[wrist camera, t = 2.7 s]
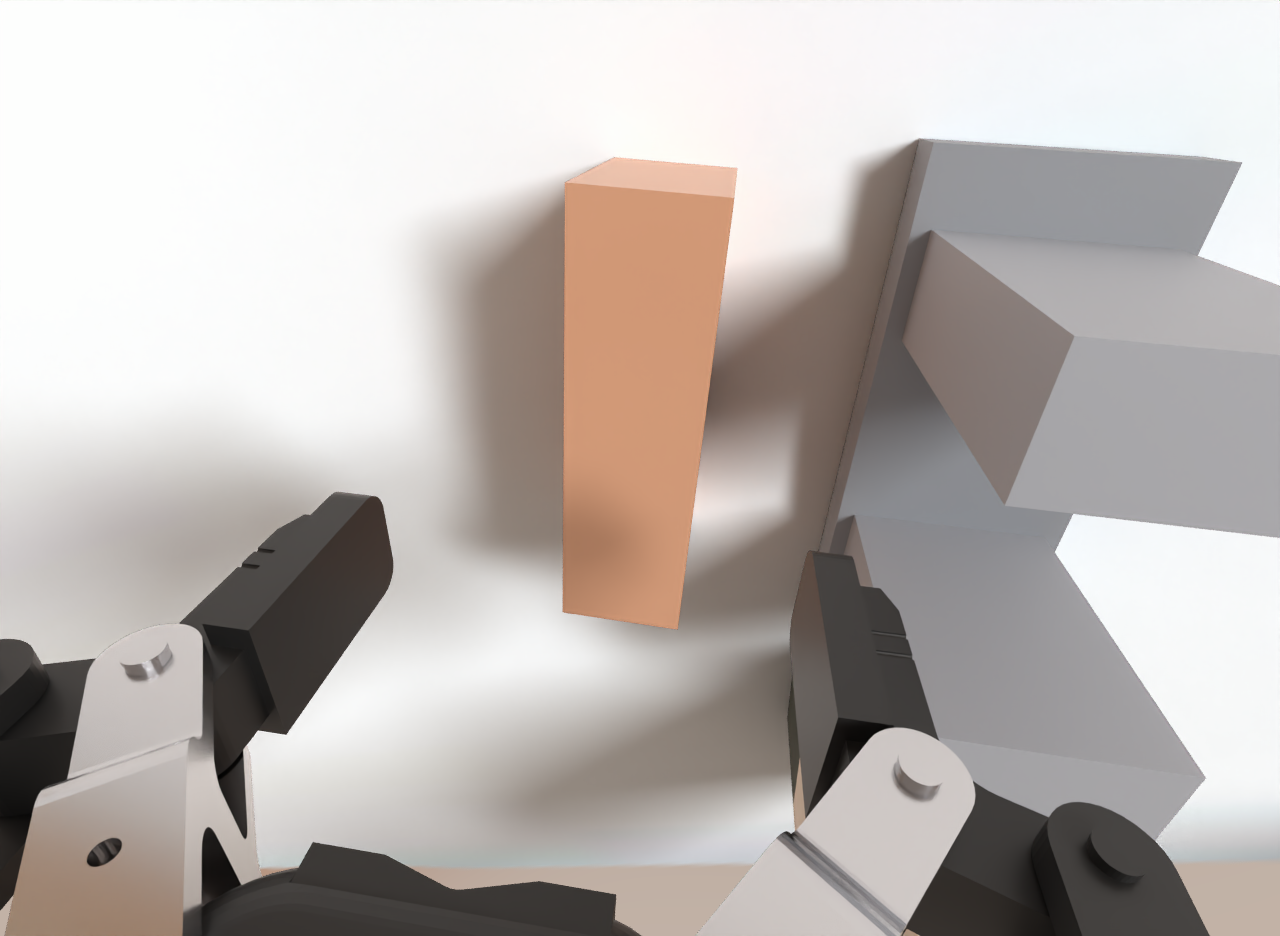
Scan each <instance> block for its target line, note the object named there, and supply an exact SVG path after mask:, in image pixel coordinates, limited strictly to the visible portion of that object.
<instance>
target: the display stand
mask: <svg viewBox="0 0 1280 936" xmlns="http://www.w3.org/2000/svg"><path fill="white" fill-rule="evenodd" d="M1241 164H1242V162H1235V161H1228V160H1221V159H1214V158H1207V157H1196V156H1180V155H1165V154H1150V153H1134V152H1119V151H1104V150H1088V149H1073V148H1058V147H1043V146H1027V145H1012V144H997V143H981V142H966V141H951V140H935V139H920V138H919V142H918V146H917V150H916V155H915V159H914V163H913V167H912V171H911V175H910V179H909V183H908V187H907V191H906V195H905V200H904V204H903V208H902V212H901V216H900V220H899V224H898V228H897V232H896V236H895V240H894V245H893V249H892V253H891V257H890V261H889V265H888V269H887V273H886V277H885V281H884V285H883V290H882V294H881V298H880V302H879V306H878V310H877V314H876V318H875V322H874V326H873V330H872V335H871V339H870V343H869V347H868V351H867V355H866V359H865V363H864V367H863V371H862V376H861V380H860V384H859V388H858V392H857V396H856V400H855V404H854V408H853V412H852V416H851V421H850V425H849V429H848V433H847V437H846V441H845V445H844V449H843V453H842V457H841V461H840V466H839V470H838V474H837V478H836V482H835V486H834V490H833V494H832V498H831V502H830V506H829V511H828V515H827V519H826V523H825V527H824V531H823V535H822V539H821V543H820V547H819V551H818V552H824V553H832V554H841V555H849V556H852V557H853V559H854V562H855V566H856V570H857V574H858V578H859V583H860V586H866V587H874V588H881V589H882V591H883V592H884V593H885V594H886V595H887V597H888V598H889V599H890V600H891V601H892V603H893V604H894V605H895V606H896V607H897V609H898V610H899V612H900V615H901V618H902V622H903V625H904V628H905V631H906V639H907V640H908V641H909V645H910V648H911V651H912V654H913V655H912V660H914V661H915V664H916V667H917V671H918V674H919V677H920V681H921V684H922V687H923V690H924V694H925V697H926V700H927V703H928V707H929V710H930V713H931V717H932V720H933V723H934V726H935V730H936V733H937V736H938V739H939V741H940V742H941V743H943V744H944V745H945V746H947V747H948V748H949V749H950V750H951V751H952V752H954V753H955V754H956V755H957V756H958V758H959V759H960V760H961V761H962V762H963V764H964V765H965V767H966V768H967V770H968V772H969V774H970V776H971V778H972V780H973V781H974V782H975V783H977V784H978V785H980V786H981V787H983V788H985V789H986V790H988V791H990V792H992V793H994V794H996V795H998V796H1000V797H1003V798H1005V799H1007V800H1010V801H1012V802H1014V803H1017V804H1019V805H1021V806H1024V807H1026V808H1028V809H1031V810H1033V811H1035V812H1038V813H1040V814H1042V815H1045V816H1047V817H1049V816H1050V815H1051V813H1052V812H1053V811H1054V810H1055V809H1056V808H1057V807H1059V806H1061V805H1062V804H1066V803H1070V802H1085V803H1091V804H1095V805H1099V806H1102V807H1104V808H1107V809H1109V810H1112V811H1114V812H1116V813H1118V814H1119V815H1121V816H1123V817H1125V818H1126V819H1128V820H1129V821H1131V822H1133V823H1134V824H1135V825H1137V826H1138V827H1139V828H1141V829H1142V830H1143V831H1144V832H1146V833H1147V834H1148V835H1149V836H1150V837H1151V838H1152V839H1153V840H1154V841H1155V839H1156V838H1157V837H1158V836H1159V835H1160V833H1161V832H1162V831H1163V830H1164V828H1165V827H1166V826H1167V825H1168V824H1169V822H1170V821H1171V820H1172V819H1173V817H1174V816H1175V815H1176V814H1177V813H1178V811H1179V810H1180V809H1181V808H1182V806H1183V805H1184V804H1185V803H1186V802H1187V800H1188V799H1189V798H1190V797H1191V795H1192V794H1193V793H1194V792H1195V791H1196V789H1197V788H1198V787H1199V786H1200V784H1201V783H1202V782H1203V781H1204V780H1205V776H1204V775H1203V773H1202V772H1201V770H1200V769H1199V767H1198V766H1197V764H1196V763H1195V761H1194V760H1193V758H1192V757H1191V755H1190V754H1189V752H1188V751H1187V749H1186V748H1185V746H1184V745H1183V743H1182V742H1181V740H1180V739H1179V737H1178V736H1177V734H1176V733H1175V731H1174V730H1173V728H1172V727H1171V725H1170V724H1169V722H1168V721H1167V719H1166V718H1165V716H1164V715H1163V713H1162V712H1161V710H1160V709H1159V707H1158V706H1157V704H1156V703H1155V701H1154V700H1153V698H1152V697H1151V696H1150V694H1149V693H1148V691H1147V690H1146V688H1145V687H1144V685H1143V684H1142V682H1141V681H1140V679H1139V678H1138V676H1137V675H1136V673H1135V672H1134V670H1133V669H1132V667H1131V666H1130V664H1129V663H1128V661H1127V660H1126V658H1125V657H1124V655H1123V654H1122V652H1121V651H1120V649H1119V648H1118V646H1117V645H1116V643H1115V642H1114V640H1113V639H1112V637H1111V636H1110V634H1109V633H1108V631H1107V630H1106V628H1105V627H1104V625H1103V624H1102V622H1101V621H1100V619H1099V618H1098V616H1097V615H1096V613H1095V612H1094V610H1093V609H1092V607H1091V606H1090V604H1089V603H1088V601H1087V600H1086V598H1085V597H1084V596H1083V594H1082V593H1081V591H1080V590H1079V588H1078V587H1077V585H1076V584H1075V582H1074V581H1073V579H1072V578H1071V576H1070V575H1069V573H1068V572H1067V570H1066V569H1065V567H1064V566H1063V564H1062V563H1061V561H1060V560H1059V558H1058V557H1057V555H1056V554H1055V550H1056V548H1057V546H1058V544H1059V542H1060V540H1061V538H1062V536H1063V534H1064V532H1065V530H1066V528H1067V525H1068V523H1069V521H1070V519H1071V517H1072V515H1073V514H1080V515H1089V516H1097V517H1106V518H1115V519H1123V520H1132V521H1140V522H1149V523H1158V524H1166V525H1175V526H1183V527H1192V528H1200V529H1209V530H1218V531H1226V532H1235V533H1243V534H1252V535H1260V536H1269V537H1278V538H1280V286H1279V285H1276V284H1273V283H1271V282H1268V281H1265V280H1262V279H1260V278H1257V277H1254V276H1251V275H1249V274H1246V273H1243V272H1240V271H1238V270H1235V269H1232V268H1229V267H1227V266H1224V265H1221V264H1218V263H1216V262H1213V261H1210V260H1207V259H1205V258H1202V257H1199V256H1198V254H1199V251H1200V249H1201V247H1202V245H1203V243H1204V241H1205V239H1206V237H1207V235H1208V233H1209V231H1210V229H1211V227H1212V224H1213V222H1214V220H1215V218H1216V216H1217V214H1218V212H1219V210H1220V208H1221V206H1222V204H1223V202H1224V200H1225V197H1226V195H1227V193H1228V191H1229V189H1230V187H1231V185H1232V183H1233V181H1234V179H1235V177H1236V175H1237V173H1238V171H1239V168H1240V166H1241Z"/></svg>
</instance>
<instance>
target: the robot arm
mask: <svg viewBox="0 0 1280 936" xmlns="http://www.w3.org/2000/svg"><path fill="white" fill-rule="evenodd" d="M392 573H393V557H392V552H391V546H390V541H389V536H388V530H387V525H386V519H385V514H384V509H383V505H382V502H381V500H380V499H379V498H378V497H376V496H368V495H359V494H351V493H343V492H336V493H333V494H332V495H331V496H329V497H328V498H327V499H326V500H325V501H324V502H323V503H322V504H321V505H320V506H319V507H318V508H317V509H316V510H315V511H314V512H313V513H312V514H311V515H303V516H301V517H299V518H297V519H296V520H294V521H292V522H290V523H288V524H286V525H285V526H283V527H281V528H279V529H277V530H276V531H275V532H274V533H273V534H272V535H271V536H270V537H269V538H268V539H267V540H266V541H265V542H264V543H263V544H262V545H261V546H260V547H258V551H257V552H253V553H252V554H251V555H250V556H249V557H248V558H247V559H246V560H245V561H244V562H243V563H242V567H238V568H237V569H235V570H234V571H233V572H232V573H231V574H230V575H229V576H228V577H227V578H226V579H225V580H224V581H223V582H222V583H221V584H220V585H219V586H218V587H217V588H216V589H215V590H214V591H212V592H211V593H210V594H209V595H208V596H207V597H206V598H205V599H204V600H203V601H202V602H201V603H200V604H199V605H198V606H197V607H196V608H195V609H194V610H193V611H192V612H191V613H189V614H188V615H187V616H186V617H185V618H184V619H183V620H182V621H181V622H180V623H179V624H177V623H174V624H161V625H156V626H152V627H148V628H145V629H142V630H139V631H136V632H134V633H132V634H129V635H127V636H125V637H123V638H122V639H120V640H118V641H117V642H115V643H113V644H112V645H111V646H109V647H108V648H107V649H105V650H104V651H103V652H102V653H101V654H100V655H99V656H98V657H97V658H96V659H88V660H79V661H70V662H61V663H53V664H44V665H42V663H41V662H40V660H39V658H38V657H37V655H36V653H35V652H34V650H33V649H32V647H31V646H30V645H29V644H28V643H26V642H24V641H21V640H15V639H1V640H0V910H1V909H2V908H3V907H4V906H5V904H6V903H7V902H8V901H9V900H10V898H11V897H12V896H13V895H14V896H13V900H12V905H11V909H10V913H9V918H8V922H7V927H6V931H5V936H641V935H639V934H638V933H637V932H635V931H634V930H633V929H631V928H630V927H628V926H626V925H624V924H622V923H620V922H618V921H616V920H615V905H616V894H609V893H604V892H598V891H592V890H587V889H581V888H574V887H569V886H563V885H558V884H552V883H546V882H540V881H538V882H530V883H520V884H511V885H501V886H492V887H483V888H474V889H464V890H455V889H450V888H448V887H445V886H443V885H441V884H440V883H438V882H436V881H434V880H432V879H430V878H428V877H426V876H424V875H422V874H420V873H419V872H417V871H415V870H413V869H411V868H409V867H407V866H405V865H404V864H402V863H400V862H398V861H396V860H394V859H392V858H390V857H388V856H386V855H384V854H378V853H372V852H366V851H360V850H355V849H349V848H343V847H337V846H331V845H326V844H320V843H314V842H313V843H312V845H311V847H310V848H309V850H308V852H307V854H306V855H305V857H304V859H303V861H302V863H301V864H300V866H299V868H294V869H289V870H285V871H281V872H276V873H272V874H269V875H266V876H263V877H262V876H261V872H260V868H259V863H258V857H257V849H256V834H255V818H254V803H253V787H252V771H251V757H250V752H249V749H248V747H247V744H248V743H249V741H250V740H251V739H252V737H253V736H254V735H255V733H256V732H257V731H258V730H259V731H266V732H272V733H278V734H285V735H286V734H287V733H288V731H289V730H290V729H291V727H292V726H293V724H294V723H295V721H296V720H297V719H298V717H299V716H300V714H301V713H302V711H303V710H304V709H305V707H306V706H307V704H308V703H309V701H310V700H311V699H312V697H313V696H314V694H315V693H316V691H317V690H318V689H319V687H320V686H321V684H322V683H323V681H324V680H325V679H326V677H327V676H328V674H329V673H330V671H331V670H332V669H333V667H334V666H335V664H336V663H337V661H338V660H339V659H340V657H341V656H342V654H343V653H344V651H345V650H346V649H347V647H348V646H349V644H350V643H351V641H352V640H353V639H354V637H355V636H356V634H357V633H358V631H359V630H360V629H361V627H362V626H363V624H364V623H365V621H366V620H367V619H368V617H369V616H370V614H371V613H372V611H373V610H374V609H375V607H376V606H377V604H378V603H379V601H380V600H381V599H382V597H383V596H384V594H385V593H386V591H387V589H388V587H389V585H390V582H391V578H392ZM790 653H791V664H792V676H793V687H794V698H795V709H796V720H797V731H798V742H799V753H800V764H801V775H802V786H803V797H804V808H805V820H804V822H803V823H802V824H801V825H800V826H799V828H798V829H797V830H796V831H795V832H793V833H792V834H790V833H789V832H787V831H786V832H783V833H782V834H781V835H779V836H778V837H777V838H776V839H775V840H774V841H773V842H772V843H771V844H770V846H769V847H768V848H767V849H766V850H765V852H764V853H763V854H762V855H761V856H760V858H759V859H758V860H757V861H756V862H755V864H754V865H753V866H752V867H751V869H750V870H749V871H748V872H747V873H746V875H745V876H744V877H743V878H742V879H741V881H740V882H739V883H738V884H737V886H736V887H735V888H734V889H733V890H732V892H731V893H730V894H729V895H728V896H727V898H726V899H725V900H724V901H723V903H722V904H721V905H720V906H719V907H718V909H717V910H716V911H715V912H714V913H713V915H712V916H711V917H710V918H709V920H708V921H707V922H706V923H705V924H704V926H703V927H702V928H701V929H700V930H699V932H698V933H697V934H696V935H695V936H903V935H904V933H905V931H906V930H907V929H908V930H910V931H912V932H914V933H916V934H918V935H920V936H1209V934H1208V932H1207V930H1206V928H1205V926H1204V924H1203V922H1202V920H1201V918H1200V916H1199V914H1198V912H1197V910H1196V908H1195V906H1194V904H1193V902H1192V900H1191V898H1190V896H1189V894H1188V892H1187V890H1186V888H1185V886H1184V884H1183V882H1182V880H1181V878H1180V876H1179V874H1178V872H1177V870H1176V868H1175V867H1174V865H1173V863H1172V861H1171V860H1170V859H1169V857H1168V856H1167V855H1166V853H1165V852H1164V851H1163V849H1162V848H1161V847H1160V846H1159V845H1158V844H1157V843H1156V842H1155V841H1154V840H1153V839H1152V838H1151V837H1150V836H1149V835H1148V834H1147V833H1146V832H1144V831H1143V830H1142V829H1141V828H1139V827H1138V826H1137V825H1135V824H1134V823H1133V822H1131V821H1129V820H1128V819H1126V818H1125V817H1123V816H1121V815H1119V814H1118V813H1116V812H1114V811H1112V810H1109V809H1107V808H1104V807H1102V806H1099V805H1095V804H1091V803H1085V802H1070V803H1066V804H1062V805H1061V806H1059V807H1057V808H1056V809H1055V810H1054V811H1053V812H1052V813H1051V815H1050V816H1049V817H1047V816H1045V815H1042V814H1040V813H1038V812H1035V811H1033V810H1031V809H1028V808H1026V807H1024V806H1021V805H1019V804H1017V803H1014V802H1012V801H1010V800H1007V799H1005V798H1003V797H1000V796H998V795H996V794H994V793H992V792H990V791H988V790H986V789H985V788H983V787H981V786H980V785H978V784H977V783H975V782H974V781H973V780H972V778H971V776H970V774H969V772H968V770H967V768H966V767H965V765H964V764H963V762H962V761H961V760H960V759H959V758H958V756H957V755H956V754H955V753H954V752H952V751H951V750H950V749H949V748H948V747H947V746H945V745H944V744H943V743H941V742H940V741H939V739H938V736H937V733H936V730H935V726H934V723H933V720H932V717H931V713H930V710H929V707H928V703H927V700H926V697H925V694H924V690H923V687H922V684H921V681H920V677H919V674H918V671H917V667H916V664H915V661H914V660H912V655H913V654H912V651H911V648H910V645H909V641H908V640H907V639H906V631H905V628H904V625H903V622H902V618H901V615H900V612H899V610H898V609H897V607H896V606H895V605H894V604H893V603H892V601H891V600H890V599H889V598H888V597H887V595H886V594H885V593H884V592H883V591H882V589H881V588H874V587H866V586H860V583H859V578H858V574H857V570H856V566H855V562H854V559H853V557H852V556H849V555H841V554H832V553H824V552H816V551H809V552H808V554H807V556H806V559H805V563H804V568H803V572H802V576H801V580H800V584H799V589H798V593H797V597H796V601H795V606H794V610H793V614H792V620H791V629H790Z"/></svg>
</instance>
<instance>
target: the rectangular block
mask: <svg viewBox="0 0 1280 936" xmlns="http://www.w3.org/2000/svg"><path fill="white" fill-rule="evenodd" d="M736 177H737V168H730V167H719V166H707V165H696V164H684V163H673V162H661V161H650V160H638V159H627V158H615V157H614V158H612V159H610V160H608V161H606V162H604V163H602V164H600V165H598V166H596V167H594V168H592V169H590V170H588V171H586V172H585V173H583V174H581V175H579V176H577V177H575V178H573V179H571V180H569V181H567V182H565V273H564V460H563V612H564V613H571V614H578V615H584V616H591V617H597V618H604V619H611V620H617V621H624V622H631V623H637V624H644V625H651V626H657V627H664V628H670V629H677V630H678V622H679V615H680V607H681V600H682V592H683V584H684V577H685V569H686V562H687V554H688V546H689V539H690V531H691V524H692V516H693V508H694V501H695V493H696V485H697V478H698V470H699V463H700V455H701V447H702V440H703V432H704V425H705V417H706V409H707V402H708V394H709V387H710V379H711V371H712V364H713V356H714V349H715V341H716V333H717V326H718V318H719V311H720V303H721V295H722V288H723V280H724V273H725V265H726V257H727V250H728V242H729V234H730V227H731V219H732V212H733V204H734V196H735V186H736Z"/></svg>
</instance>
